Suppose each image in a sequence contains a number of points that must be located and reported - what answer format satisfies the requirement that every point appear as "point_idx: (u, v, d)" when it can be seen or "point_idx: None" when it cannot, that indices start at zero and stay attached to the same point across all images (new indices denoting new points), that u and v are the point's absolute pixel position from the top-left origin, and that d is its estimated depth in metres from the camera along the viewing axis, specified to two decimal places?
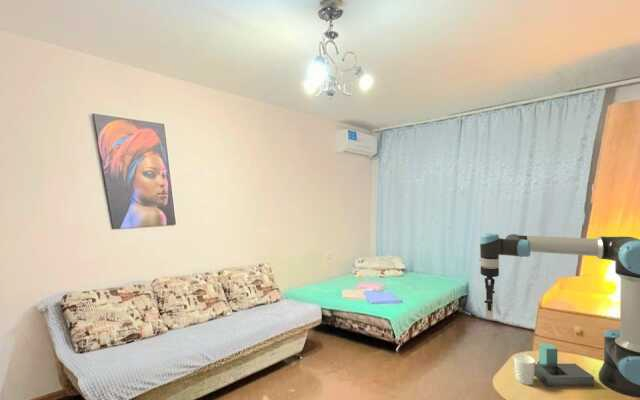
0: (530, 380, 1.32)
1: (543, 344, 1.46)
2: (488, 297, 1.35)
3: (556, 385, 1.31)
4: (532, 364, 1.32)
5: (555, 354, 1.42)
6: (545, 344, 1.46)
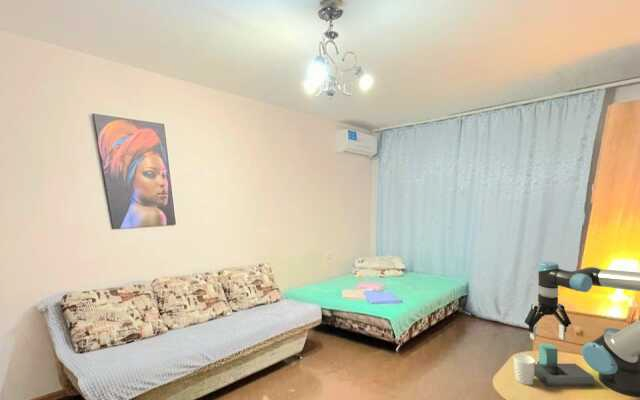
0: (530, 380, 1.32)
1: (543, 344, 1.46)
2: (527, 318, 1.45)
3: (556, 385, 1.31)
4: (532, 364, 1.32)
5: (555, 354, 1.42)
6: (545, 344, 1.46)
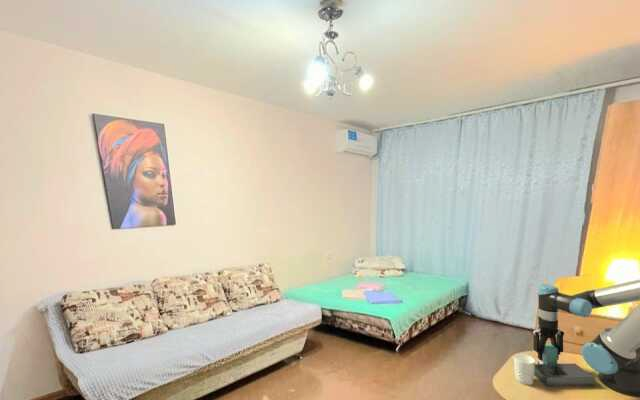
0: (530, 380, 1.32)
1: None
2: (534, 346, 1.45)
3: (556, 385, 1.31)
4: (532, 364, 1.32)
5: (555, 354, 1.42)
6: (545, 344, 1.46)
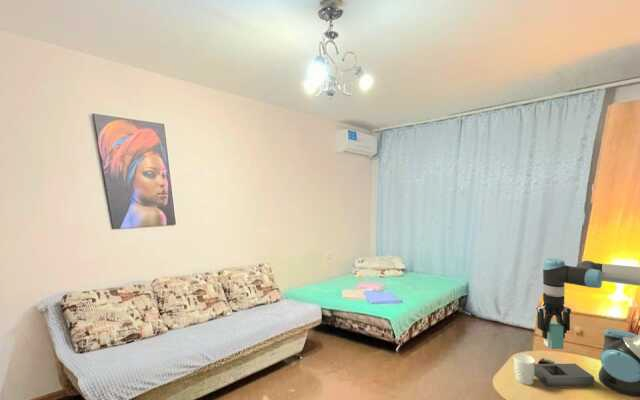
0: (530, 380, 1.32)
1: None
2: (538, 324, 1.37)
3: (556, 385, 1.31)
4: (532, 364, 1.32)
5: (561, 332, 1.34)
6: (551, 322, 1.38)
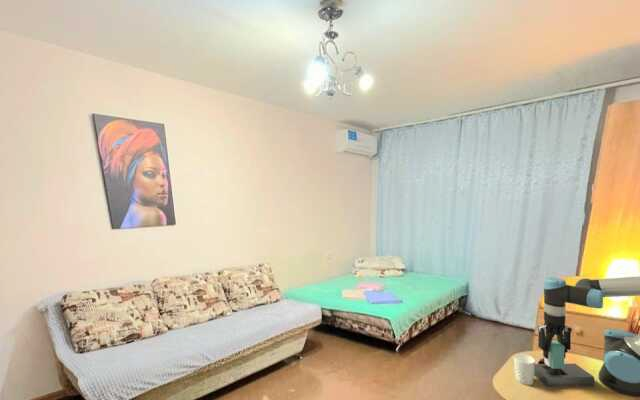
0: (530, 380, 1.32)
1: None
2: (539, 343, 1.36)
3: (556, 385, 1.31)
4: (532, 364, 1.32)
5: (562, 352, 1.33)
6: None
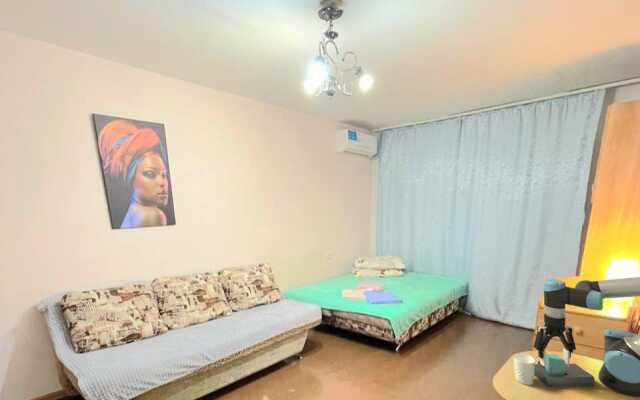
0: (530, 380, 1.32)
1: (549, 355, 1.37)
2: (535, 343, 1.36)
3: (556, 385, 1.31)
4: (532, 364, 1.32)
5: (562, 366, 1.33)
6: (552, 355, 1.37)
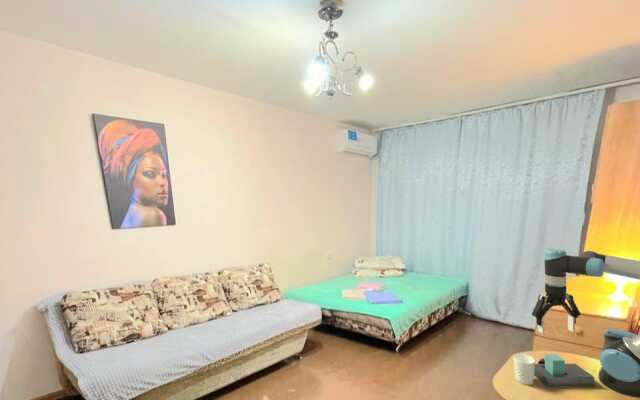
0: (530, 380, 1.32)
1: (549, 355, 1.37)
2: (534, 310, 1.36)
3: (556, 385, 1.31)
4: (532, 364, 1.32)
5: (562, 366, 1.33)
6: (552, 355, 1.37)
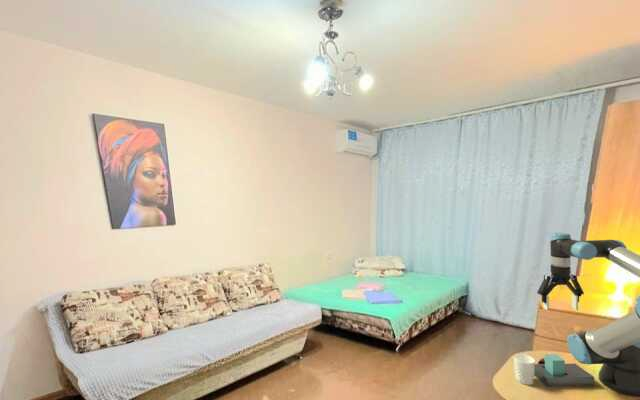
0: (530, 380, 1.32)
1: (549, 355, 1.37)
2: (540, 289, 1.47)
3: (556, 385, 1.31)
4: (532, 364, 1.32)
5: (562, 366, 1.33)
6: (552, 355, 1.37)
